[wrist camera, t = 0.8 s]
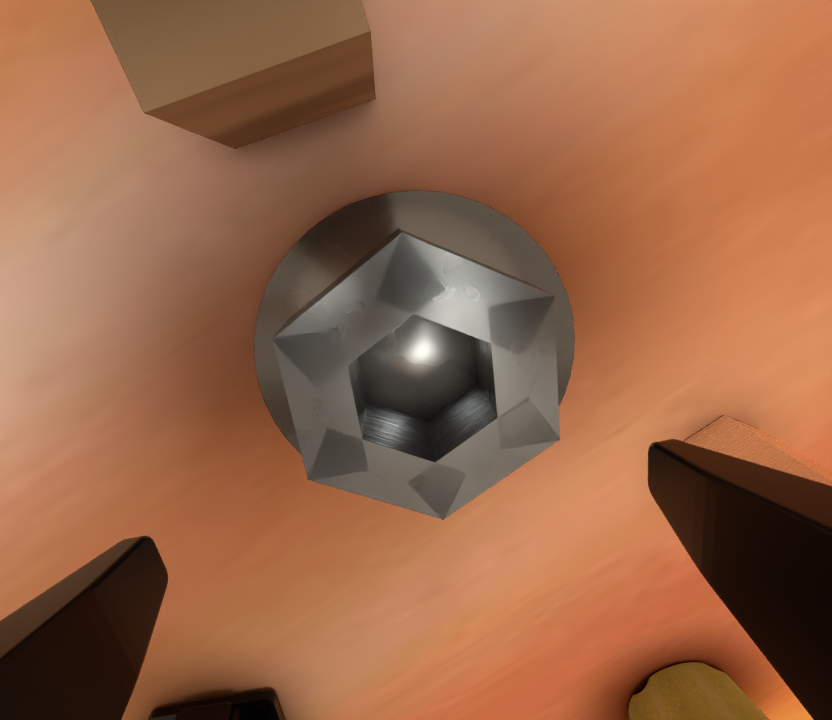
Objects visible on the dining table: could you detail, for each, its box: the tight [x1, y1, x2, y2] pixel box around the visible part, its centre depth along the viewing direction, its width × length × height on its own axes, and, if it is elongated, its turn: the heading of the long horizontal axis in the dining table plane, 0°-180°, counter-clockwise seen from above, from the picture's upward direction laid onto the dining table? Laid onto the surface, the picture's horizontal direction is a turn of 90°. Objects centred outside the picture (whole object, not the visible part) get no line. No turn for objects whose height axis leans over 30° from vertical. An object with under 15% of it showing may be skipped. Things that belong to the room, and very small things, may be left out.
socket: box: [254, 191, 575, 520], centre depth 16 cm, size 12×12×4 cm
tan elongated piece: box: [684, 415, 832, 486], centre depth 15 cm, size 4×3×10 cm
